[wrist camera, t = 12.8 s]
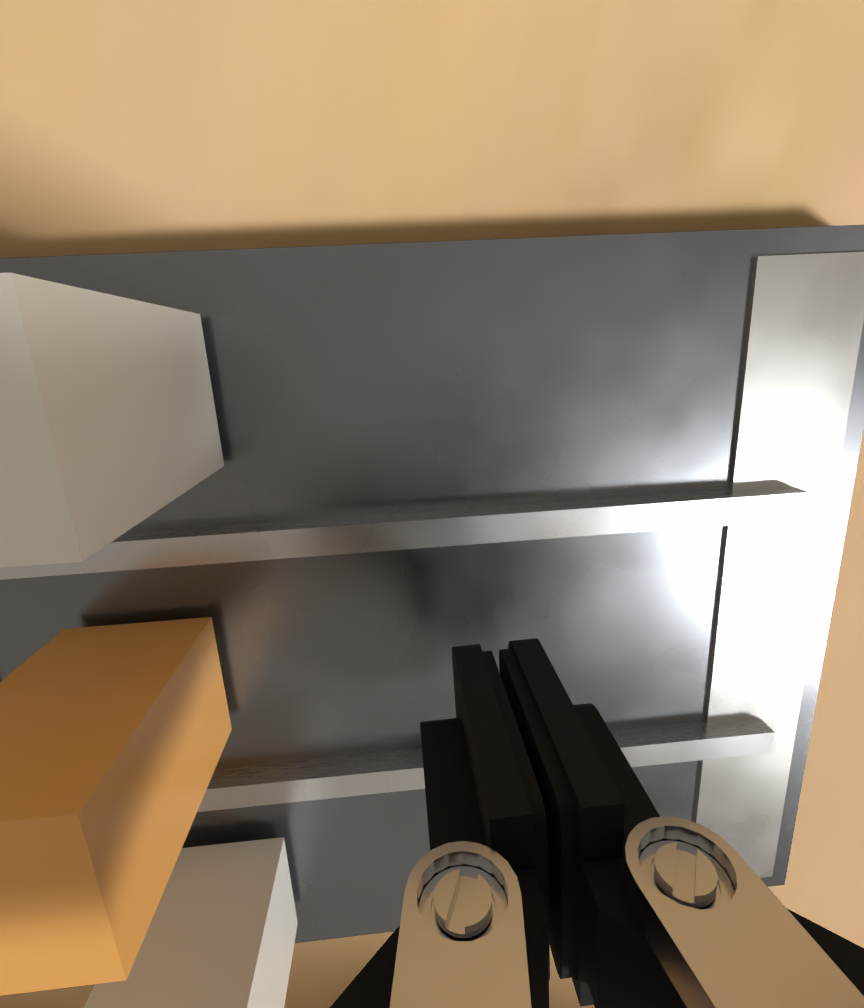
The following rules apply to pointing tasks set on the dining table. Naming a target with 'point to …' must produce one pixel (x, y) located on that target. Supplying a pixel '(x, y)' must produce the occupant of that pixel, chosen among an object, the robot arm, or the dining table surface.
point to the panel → (493, 520)
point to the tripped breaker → (100, 792)
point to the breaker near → (95, 417)
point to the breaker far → (215, 933)
